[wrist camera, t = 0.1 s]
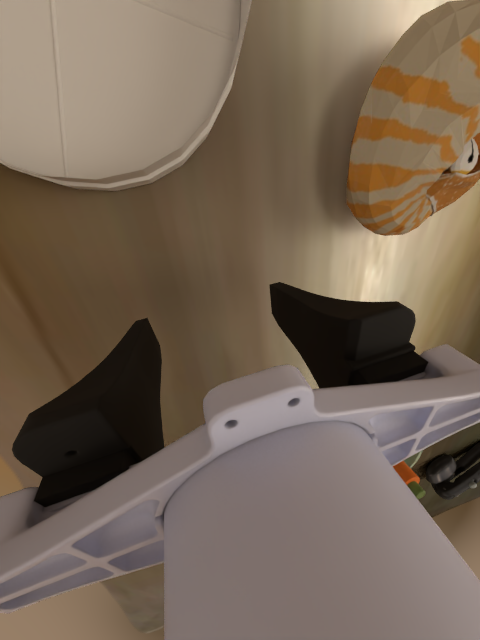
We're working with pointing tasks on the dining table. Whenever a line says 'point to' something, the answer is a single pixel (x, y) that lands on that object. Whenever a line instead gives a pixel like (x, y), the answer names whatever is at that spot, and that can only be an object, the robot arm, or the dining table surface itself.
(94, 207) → the dining table surface
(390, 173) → the nautilus
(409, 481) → the carrot
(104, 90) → the dish
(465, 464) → the can opener
